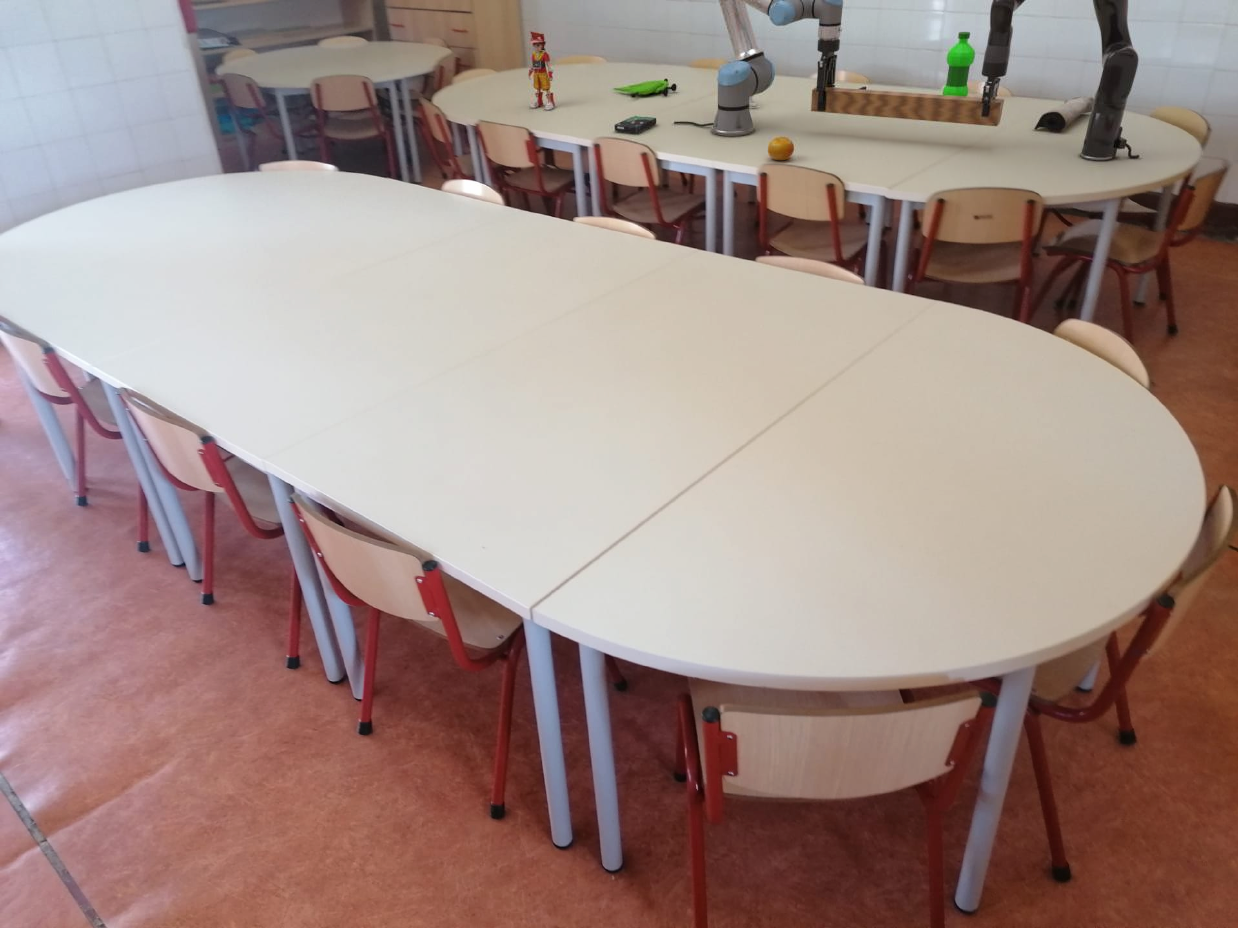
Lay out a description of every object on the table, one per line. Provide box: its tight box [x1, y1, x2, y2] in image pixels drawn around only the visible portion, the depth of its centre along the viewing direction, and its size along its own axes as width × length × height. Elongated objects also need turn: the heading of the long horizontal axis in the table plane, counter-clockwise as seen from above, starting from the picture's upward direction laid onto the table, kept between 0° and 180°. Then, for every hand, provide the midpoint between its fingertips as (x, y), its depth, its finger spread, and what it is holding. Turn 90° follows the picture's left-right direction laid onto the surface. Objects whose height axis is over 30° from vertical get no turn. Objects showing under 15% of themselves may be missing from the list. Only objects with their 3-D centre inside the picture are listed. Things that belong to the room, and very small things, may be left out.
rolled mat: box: [1034, 96, 1094, 133], centre depth 322 cm, size 30×9×10 cm
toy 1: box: [527, 31, 556, 111], centre depth 374 cm, size 12×9×30 cm
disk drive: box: [614, 115, 657, 135], centre depth 346 cm, size 10×3×15 cm
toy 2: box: [612, 78, 677, 99], centre depth 396 cm, size 28×5×30 cm
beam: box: [810, 86, 1005, 127], centre depth 309 cm, size 64×5×8 cm, turn 59°
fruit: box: [767, 136, 795, 161], centre depth 303 cm, size 8×8×8 cm
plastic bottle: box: [942, 31, 976, 97], centre depth 348 cm, size 10×10×25 cm
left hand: (824, 108), depth 324 cm, fingers closed on beam, 5 cm apart
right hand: (986, 114), depth 297 cm, fingers closed on beam, 5 cm apart
